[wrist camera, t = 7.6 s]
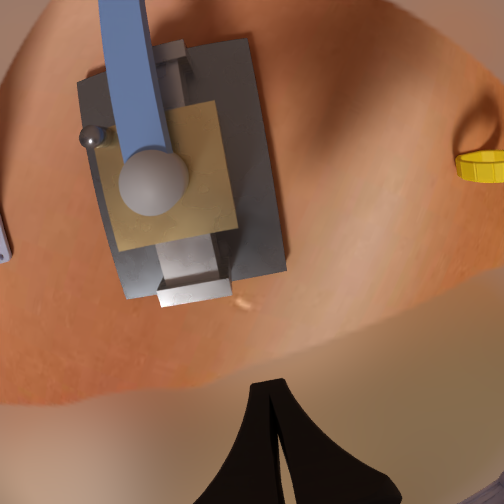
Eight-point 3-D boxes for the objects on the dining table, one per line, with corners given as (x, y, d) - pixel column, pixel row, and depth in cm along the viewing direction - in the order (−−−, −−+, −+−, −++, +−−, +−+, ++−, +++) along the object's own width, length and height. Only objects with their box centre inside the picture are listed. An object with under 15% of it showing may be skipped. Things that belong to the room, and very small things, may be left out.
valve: (130, 293, 21) (96, 351, 14) (83, 84, 16) (24, 63, 10) (284, 265, 21) (309, 318, 15) (246, 43, 17) (256, -8, 10)
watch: (485, 140, 20) (538, 144, 14) (490, 171, 21) (541, 181, 15) (441, 150, 19) (499, 154, 14) (446, 185, 20) (503, 198, 15)
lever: (194, 199, 14) (189, 207, 12) (140, 212, 14) (128, 222, 12) (152, -9, 10) (143, -28, 8) (102, 8, 10) (87, -7, 8)
